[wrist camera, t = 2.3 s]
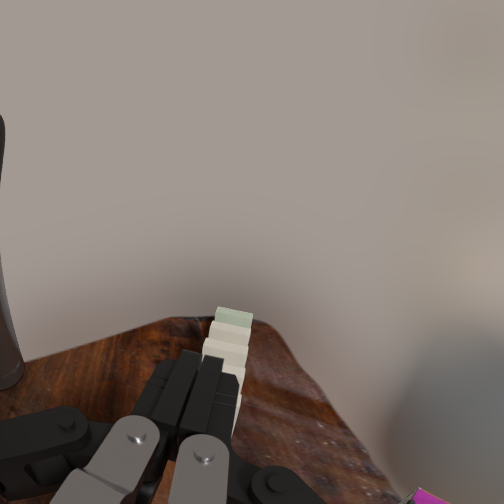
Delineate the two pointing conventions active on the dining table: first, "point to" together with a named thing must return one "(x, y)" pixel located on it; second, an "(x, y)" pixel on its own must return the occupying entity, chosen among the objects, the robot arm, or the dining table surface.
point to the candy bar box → (422, 498)
